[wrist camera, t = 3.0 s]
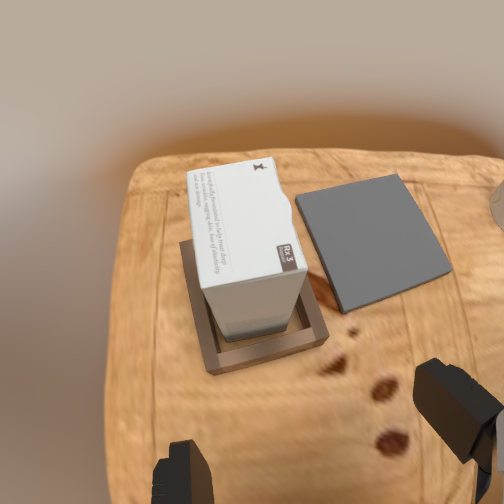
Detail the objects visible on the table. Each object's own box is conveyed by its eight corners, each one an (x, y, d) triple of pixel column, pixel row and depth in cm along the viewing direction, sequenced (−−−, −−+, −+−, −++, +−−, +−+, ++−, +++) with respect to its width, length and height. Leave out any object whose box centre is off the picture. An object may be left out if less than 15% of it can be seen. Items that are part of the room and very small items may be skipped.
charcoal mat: (394, 178, 37) (397, 173, 36) (448, 273, 30) (452, 269, 30) (295, 201, 36) (295, 195, 35) (342, 314, 29) (344, 310, 28)
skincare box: (213, 268, 32) (179, 166, 19) (271, 256, 33) (272, 148, 19) (227, 348, 28) (191, 289, 15) (291, 334, 29) (312, 264, 16)
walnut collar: (282, 234, 34) (283, 215, 31) (322, 344, 28) (329, 335, 25) (187, 259, 33) (179, 242, 30) (213, 375, 27) (206, 371, 24)
